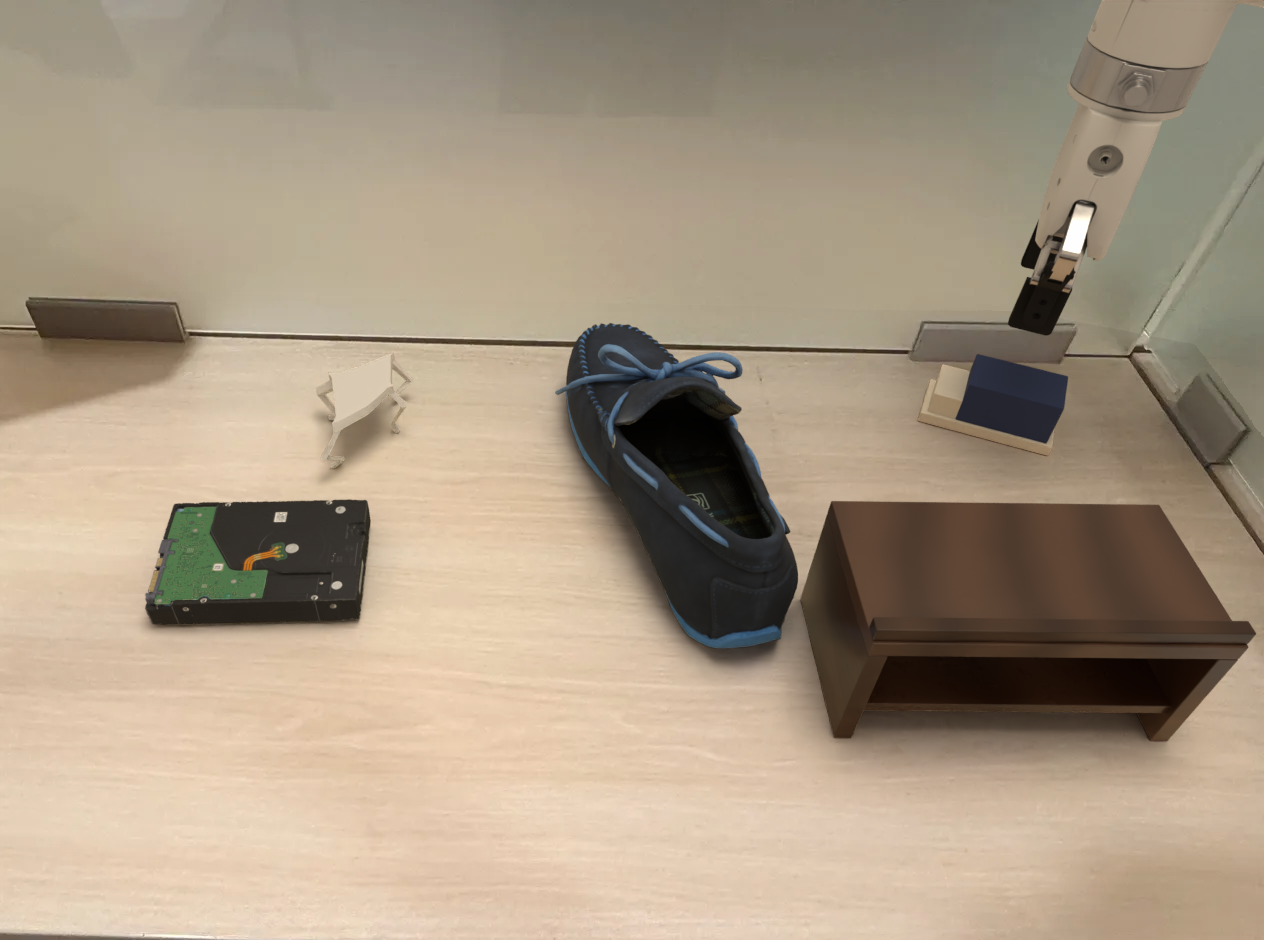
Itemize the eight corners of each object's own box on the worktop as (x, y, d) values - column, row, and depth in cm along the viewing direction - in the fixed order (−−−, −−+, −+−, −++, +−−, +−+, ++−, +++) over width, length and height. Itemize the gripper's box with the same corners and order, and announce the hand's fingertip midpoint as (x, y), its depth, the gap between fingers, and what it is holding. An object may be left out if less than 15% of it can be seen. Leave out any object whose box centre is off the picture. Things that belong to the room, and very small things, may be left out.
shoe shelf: (1096, 601, 72) (1166, 493, 64) (1168, 741, 64) (1259, 636, 56) (800, 598, 72) (834, 489, 64) (833, 738, 64) (877, 633, 56)
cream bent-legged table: (327, 390, 88) (319, 344, 85) (419, 396, 88) (415, 350, 84) (293, 479, 80) (283, 433, 77) (394, 486, 80) (388, 440, 76)
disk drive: (371, 522, 77) (179, 526, 76) (368, 496, 75) (171, 500, 74) (362, 624, 70) (150, 630, 69) (358, 599, 68) (139, 604, 67)
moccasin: (666, 359, 93) (681, 245, 84) (874, 626, 70) (923, 508, 62) (529, 388, 89) (529, 273, 81) (702, 680, 67) (728, 563, 58)
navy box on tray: (1053, 419, 87) (1075, 375, 84) (1047, 456, 84) (1070, 412, 80) (927, 387, 90) (943, 343, 87) (917, 421, 87) (933, 377, 83)
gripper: (1196, 137, 59) (1076, 369, 71) (1192, 45, 70) (1089, 259, 83) (1066, 112, 61) (971, 342, 73) (1082, 26, 72) (998, 238, 85)
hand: (1034, 298), depth 78 cm, fingers open, 9 cm apart
